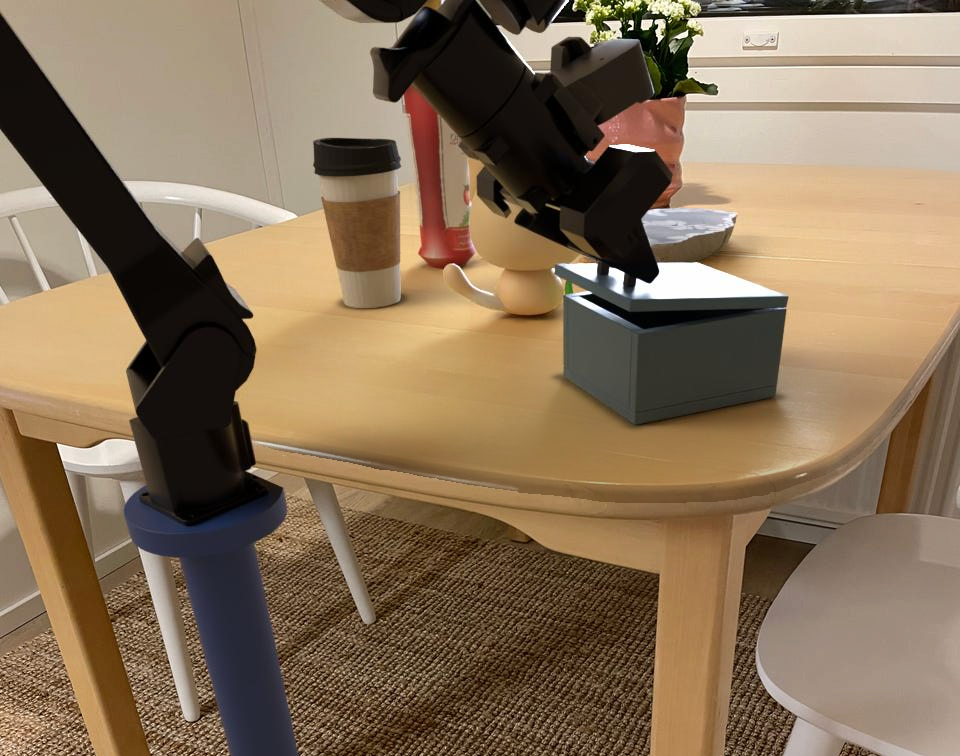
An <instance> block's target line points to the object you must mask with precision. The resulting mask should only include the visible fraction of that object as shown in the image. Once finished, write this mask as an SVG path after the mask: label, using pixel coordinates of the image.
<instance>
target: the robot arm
mask: <svg viewBox="0 0 960 756" xmlns="http://www.w3.org/2000/svg"><path fill="white" fill-rule="evenodd" d="M319 1H320V2H321V3H322V4H323V5H325V6H326V7H327V8H329V9H330V10H332V11H333V12H334V13H336V15H338V16H340V17H342V18H344V19H345V20H349V21H352V22H355V23H359V24H398V23H401V22H403V21H405V20H407V19H409V18H411V17H412V19H411V20H410V22H409V23H408V25H407V26H406V28H404V31H402V33H401V34H400V36H399V37H398V38H397V40H396V41H395V42H394V44H393V45H392V46H390V47H382V46H381V47H380V46H374V47H372V48H371V49H370V51H369V55H370V57H371V61H372V67H373V76H372V77H373V80H372V83H373V84H372V94H373V97H374V98H375V99H377V100H381V101H384V102H389V103H392V104H395V103H398V102H399V101H400V100H401V99H402V98H403V97H404V93H405V92H406V91H407V89H408V88H409V87H410V85H412V86H413V87H414V88H415V89H416V90H417V91H418V92H419V94H420V95H421V96H422V97H423V98H424V99H425V100H426V101H427V102H428V104H429V105H430V106H431V107H432V108H433V109H434V110H435V111H436V112H437V114H438V115H439V116H440V117H441V118H442V119H443V120H444V121H445V122H446V124H447V125H448V126H449V127H450V128H451V129H452V130H453V131H454V132H455V134H456V135H457V136H458V137H459V138H460V139H461V140H462V141H461V142H460V144H459V145H458V146H459V147H460V149H461V150H462V151H463V152H464V153H465V154H466V155H467V156H468V157H469V158H472V159H476V160H480V161H481V162H482V163H483V165H484V167H483V168H482V170H481V171H480V172H479V174H478V175H477V196H478V197H479V198H480V199H481V200H482V201H483V202H484V204H485V205H486V206H487V207H488V208H489V209H490V210H491V211H492V212H493V213H494V214H497V215H499V216H502V217H504V218H506V219H507V217H508V216H509V215H510V214H511V212H512V211H511V209H510V207H509V206H508V204H507V203H506V202H509V203H512V204H514V205H515V206H516V207H517V208H518V209H519V210H520V212H519V213H518V215H517V216H516V218H515V220H514V223H515V224H516V225H518V226H520V227H522V228H524V229H527V230H529V231H531V232H533V233H535V234H538V235H540V236H542V237H544V238H546V239H549V240H551V241H553V242H555V243H557V244H560V245H562V246H564V247H566V248H569V249H571V250H573V251H575V252H578V253H580V255H582V256H584V257H587V258H589V259H590V260H593V261H595V262H597V263H598V261H600V262H602V263H604V264H606V265H608V266H610V267H611V268H615V269H617V270H619V271H621V272H624V273H626V274H628V275H630V276H632V277H634V278H637V279H639V280H641V281H643V282H645V283H648V284H651V283H652V282H653V281H654V280H655V279H656V277H657V276H658V275H659V273H660V270H659V267H658V264H657V261H656V259H655V256H654V253H653V250H652V248H651V245H650V242H649V240H648V237H647V234H646V231H645V228H644V226H643V222H642V218H643V216H644V215H645V214H646V213H647V212H648V210H651V208H652V207H653V206H654V204H656V202H657V201H658V200H659V199H660V198H661V196H662V195H663V194H664V193H665V192H666V190H667V189H668V188H669V187H670V185H671V184H672V181H673V175H674V174H673V172H672V170H671V169H670V168H669V166H668V165H667V164H666V163H665V161H664V160H663V159H662V157H661V156H660V155H659V153H658V152H657V151H656V150H655V149H650V148H646V147H641V146H635V145H631V144H618V145H616V144H615V145H608V146H607V147H606V149H604V151H603V152H602V154H601V155H600V156H598V158H597V160H596V161H592V160H588V158H587V157H586V155H588V153H589V152H593V151H594V150H595V149H596V148H597V147H598V145H599V144H600V143H601V141H603V139H604V138H605V137H606V135H605V133H604V132H603V130H602V129H601V128H600V127H599V126H602V125H603V124H605V123H607V122H609V121H610V120H612V119H614V118H615V117H616V116H618V115H620V114H621V113H622V112H624V111H626V110H627V109H630V107H633V106H634V105H635V104H643V103H645V102H646V101H648V100H649V99H651V98H652V97H653V96H654V94H655V90H654V86H653V83H652V79H651V76H650V73H649V69H648V66H647V62H646V59H645V55H644V52H643V48H642V45H641V42H640V40H639V39H632V38H631V39H630V38H612V39H609V40H606V41H597V42H596V43H594V44H593V48H592V46H591V45H589V44H588V42H587V41H586V39H585V40H584V38H583V37H581V36H567V37H565V38H564V39H562V40H561V41H559V42H557V43H555V44H554V45H552V46H551V48H550V68H549V69H550V70H549V72H545V73H542V72H535V71H533V70H532V68H531V66H529V65H528V63H527V62H526V61H525V60H524V59H523V57H522V56H521V55H520V53H519V52H518V51H517V50H516V48H515V47H514V46H513V45H512V44H511V42H510V41H509V40H508V38H507V37H506V36H505V35H504V33H503V32H502V31H501V29H499V27H498V26H497V24H498V25H499V26H500V27H501V28H503V29H504V30H505V31H507V32H508V33H510V34H512V35H515V36H518V35H520V34H521V33H522V32H523V31H524V29H528V30H530V31H531V32H534V33H537V34H543V33H544V32H546V30H547V29H548V27H549V26H550V25H551V24H552V22H553V21H554V19H556V17H557V16H558V15H559V13H560V12H561V10H562V9H563V8H564V6H566V4H567V3H568V2H569V0H443V2H442V5H441V6H440V7H439V8H438V9H437V10H434V9H432V8H430V7H427V6H424V7H422V6H423V5H424V4H425V3H426V2H427V0H319ZM478 1H479V2H478ZM421 7H422V8H421ZM413 16H414V17H413ZM493 20H494V21H495V22H496V23H497V24H496V23H495V22H494V21H493ZM0 132H1V133H2V134H3V135H4V136H5V138H6V139H7V141H9V143H10V144H11V145H12V147H13V148H14V149H15V151H16V152H17V153H18V154H19V156H20V157H21V158H22V160H23V161H24V163H26V165H27V166H28V167H29V169H30V170H31V171H32V172H33V174H34V175H35V176H36V178H37V179H38V180H39V181H40V183H41V185H42V186H43V187H44V189H46V191H47V192H48V193H49V194H50V196H51V197H52V198H53V200H54V201H55V202H56V203H57V204H58V206H59V208H60V209H61V210H62V211H63V212H64V214H65V216H67V217H68V219H69V221H70V222H71V223H72V224H73V225H74V226H75V228H76V229H77V230H78V232H79V233H80V234H81V236H82V237H83V239H85V241H86V242H87V244H88V245H89V246H90V247H91V249H92V250H93V251H94V252H95V253H96V255H97V257H98V258H99V259H100V260H101V261H102V263H104V265H105V267H106V268H107V270H108V271H109V273H110V274H111V276H112V278H113V280H114V282H115V284H116V286H117V288H118V290H119V292H120V294H121V295H122V297H123V299H124V301H125V303H126V305H127V307H128V309H129V311H130V312H131V315H132V317H133V319H134V320H135V322H136V324H137V326H138V328H139V331H140V332H141V333H142V335H143V337H144V339H145V341H144V343H143V344H142V346H141V347H140V349H139V350H138V351H137V353H135V356H134V357H133V359H132V360H131V361H130V362H129V365H128V366H127V367H126V369H125V373H126V377H127V382H128V386H129V390H130V394H131V399H132V403H133V407H134V411H135V415H136V416H135V417H133V418H130V419H129V420H128V421H129V425H130V429H131V432H132V436H133V441H134V445H135V448H136V452H137V455H138V459H139V463H140V466H141V470H142V474H143V477H144V481H145V485H147V489H148V491H145V492H142V493H140V494H139V500H140V502H141V503H143V504H145V505H147V506H148V507H150V508H152V509H154V510H156V511H158V512H160V513H161V514H163V515H165V516H167V517H169V518H171V519H173V520H174V521H176V522H178V523H180V524H182V525H184V526H186V527H190V526H195V525H197V524H200V523H202V522H204V521H207V520H209V519H211V518H214V517H216V516H219V515H221V514H223V513H226V512H228V511H230V510H233V509H235V508H238V507H240V506H242V505H245V504H247V503H249V502H252V501H254V500H257V499H259V498H261V497H264V496H266V495H268V494H269V491H268V487H267V486H266V485H264V484H262V483H259V482H257V481H255V480H254V479H256V478H257V477H259V476H258V475H256V474H254V473H251V472H249V470H251V469H252V467H253V466H256V465H257V460H256V455H255V451H254V445H253V441H252V436H251V430H250V425H249V422H248V420H245V419H244V418H242V414H241V409H240V403H239V402H238V401H236V400H235V397H236V391H238V390H239V389H240V388H241V387H242V386H243V384H245V383H246V382H247V381H248V379H249V377H250V376H251V374H252V373H253V369H254V368H255V361H256V356H257V351H258V350H257V346H256V340H255V338H254V335H253V334H252V332H251V330H250V328H249V326H248V324H247V323H246V321H245V320H250V319H253V318H254V313H253V311H252V310H251V309H250V307H249V306H248V305H247V303H246V302H245V301H244V299H243V298H242V296H241V295H240V293H239V291H238V290H237V289H236V288H234V287H233V286H232V285H230V284H229V283H227V282H226V281H225V279H224V277H223V275H222V273H221V271H220V268H219V267H218V264H217V262H216V261H215V259H214V257H213V255H212V254H211V253H210V251H209V250H208V248H207V247H206V245H205V244H204V243H203V241H202V240H201V239H200V238H199V237H195V238H194V239H193V240H192V241H191V242H190V243H189V244H188V245H187V246H186V247H185V248H184V249H183V250H181V249H180V248H179V247H178V246H177V245H176V244H175V243H174V241H172V240H171V239H170V238H169V237H168V236H167V235H166V234H165V233H164V232H163V231H162V230H161V229H160V228H159V227H158V226H157V225H156V224H155V223H154V222H153V221H152V219H151V218H150V216H149V215H148V214H147V212H146V211H145V209H144V208H143V207H142V205H141V204H140V202H139V201H138V200H137V198H136V196H134V194H133V193H132V191H131V190H130V189H129V187H128V186H127V184H126V183H125V181H124V180H123V179H122V177H121V176H120V175H119V173H118V171H116V169H115V168H114V166H113V165H112V163H111V162H110V161H109V160H108V158H107V156H106V155H105V154H104V153H103V151H102V150H101V148H100V146H99V145H98V144H97V142H96V141H95V140H94V139H93V137H92V135H90V133H89V132H88V130H87V129H86V127H85V126H84V125H83V123H82V122H81V121H80V119H79V118H78V116H77V115H76V114H75V111H73V109H72V108H71V106H70V105H69V104H68V103H67V101H66V100H65V98H64V96H63V95H62V94H61V93H60V91H59V90H58V88H57V87H56V85H55V84H54V82H53V81H52V80H51V79H50V78H49V76H48V74H47V73H46V72H45V70H44V69H43V68H42V66H41V65H40V64H39V62H38V61H37V59H36V58H35V56H34V55H33V54H32V52H31V51H30V50H29V48H28V46H27V45H26V44H25V42H24V41H23V40H22V38H21V37H20V35H19V34H18V33H17V32H16V30H15V28H14V27H13V25H11V23H10V21H9V20H8V19H7V18H6V16H5V14H3V12H2V11H1V10H0ZM505 201H506V202H505Z"/></svg>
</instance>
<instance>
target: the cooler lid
mask: <svg viewBox="0 0 960 756" xmlns="http://www.w3.org/2000/svg"><path fill="white" fill-rule="evenodd" d="M647 237H648V236H647ZM648 240H649V239H648ZM657 264H658V267H659V270H660V273H659V275H658V276H657V277H656V279H655V280H654V281H653V282H652V283H651V284H648V283H645V282H643V281H641V280H639V279H637V278H634V277H632V276H630V275H628V274H626V273H624V272H621V271H619V270H617V269H615V268H611V267H610V266H608V265H606V264H604V263H602V262H600V261H598V262H597V263H569V264H555V268H554V270H555V272H554V274H555V275H556V276H558V277H560V279H563V280H564V281H566V280H567V281H569V282H571V283H572V285H575V286H577V287H578V288H581V289H583V290H585V291H589V292H591V293H593V294H595V295H597V296H599V297H601V298H603V299H605V300H607V301H609V302H611V303H613V304H615V305H617V306H619V307H621V308H623V309H625V310H627V311H629V312H642V311H679V310H716V309H754V308H787V306H788V303H789V298H790V297H789V295H787V294H784V293H781V292H778V291H775V290H773V289H770V288H767V287H765V286H762V285H759V284H757V283H754V282H751V281H748V280H745V279H743V278H740V277H738V276H735V275H732V274H729V273H727V272H724V271H721V270H719V269H716V268H714V267H711V266H708V265H705V264H702V263H700V262H692V263H657Z"/></svg>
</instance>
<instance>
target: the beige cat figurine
mask: <svg viewBox="0 0 960 756" xmlns="http://www.w3.org/2000/svg"><path fill="white" fill-rule="evenodd" d="M467 158H468V166H469V194H470V200H471V209H470V217H469V230H470V236H471V240H472V243H473V246H474V248H475V250H476V253H477V254H478V255H479V257H481V258H482V259H483V260H484V261H486V262H487V263H489V264H490V265H492V266H496V267H497V268H501V269H504V270H503V271H502V272H501V274H500V276H499V278H498V280H497V282H496V284H495V288H494V292H493V293H491V292H488V291H485V290H481V289H479V288H477V287H475V286H474V285H473V284H472V283H471V282H470V281H469V279H468V277H467V276H466V274H465V272H464V271H463V269H462V268H461V266H457V265H456V264H448V265H447V266H446V267H445V268H443V271H442V276H443V279H444V281H445V283H446V285H447V286H448V287H449V288H450V289H451V290H452V291H453V292H455V293H457V294H459V295H460V296H462V297H464V298H466V299H467V300H470V302H472V303H474V304H476V305H477V306H480V307H482V308H485V309H488V310H492V311H498V312H507V313H510V314H511V315H512V314H513V315H518V316H535V315H542V314H546V313H550V312H552V311H553V310H555V309H556V308H557V307H558V306H559V305H560V304H561V303H562V302H563V295H567V294H573V293H574V289H573V283H571V282H569V281H567V280H565V284H563V282H562V280H561V279H562V278H560V277H558V276H556V275H555V274H554V272H555V264H572V263H573V262H574V261H576V259H578V258H579V256H580V255H581V254H580V253H578V252H575V251H573V250H571V249H569V248H566V247H564V246H562V245H560V244H557V243H555V242H553V241H551V240H549V239H546V238H544V237H542V236H540V235H538V234H535V233H533V232H531V231H529V230H527V229H524V228H522V227H520V226H518V225H516V224H515V223H514V220H515V218H516V216H517V215H518V213H519V212H520V210H519V209H518V208H517V207H516V206H515V205H514V204H512V203H509V202H506V201H505V202H506V203H507V204H508V206H509V207H510V209H511V211H512V212H511V214H510V215H509V216H508V217H507V219H506V218H504V217H502V216H499V215H497V214H494V213H493V212H492V211H491V210H490V209H489V208H488V207H487V206H486V205H485V204H484V202H483V201H482V200H481V199H480V198H479V197H478V196H477V175H478V174H479V172H480V171H481V170H482V168H483V167H484V165H483V163H482V162H481V161H480V160H476V159H472V158H469V157H468V156H467Z"/></svg>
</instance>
